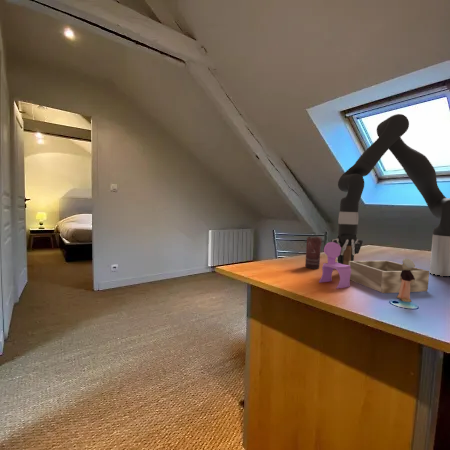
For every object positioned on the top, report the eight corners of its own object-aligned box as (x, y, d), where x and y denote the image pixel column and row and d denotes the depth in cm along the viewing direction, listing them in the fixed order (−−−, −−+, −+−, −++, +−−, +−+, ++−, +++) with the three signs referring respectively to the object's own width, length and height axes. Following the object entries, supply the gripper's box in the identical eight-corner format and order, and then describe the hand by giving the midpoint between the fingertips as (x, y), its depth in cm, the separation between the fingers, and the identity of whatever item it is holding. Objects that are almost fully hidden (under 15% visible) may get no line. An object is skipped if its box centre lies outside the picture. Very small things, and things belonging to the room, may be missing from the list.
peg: (345, 272, 122) (347, 244, 121) (352, 274, 118) (354, 246, 117) (337, 272, 121) (339, 244, 120) (343, 274, 117) (345, 245, 116)
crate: (386, 277, 115) (388, 260, 114) (427, 291, 97) (429, 271, 97) (347, 278, 111) (348, 261, 110) (382, 293, 93) (384, 272, 93)
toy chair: (336, 289, 96) (339, 245, 95) (316, 282, 103) (319, 241, 102) (352, 286, 99) (355, 244, 98) (332, 280, 107) (335, 241, 106)
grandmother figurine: (390, 295, 90) (393, 256, 89) (401, 296, 91) (404, 256, 90) (407, 304, 83) (411, 261, 82) (420, 304, 83) (423, 261, 82)
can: (320, 269, 126) (322, 238, 125) (305, 268, 127) (307, 237, 126) (319, 266, 132) (320, 236, 131) (304, 265, 133) (306, 235, 132)
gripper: (356, 222, 123) (354, 261, 124) (327, 221, 120) (325, 262, 121) (369, 223, 116) (366, 265, 117) (338, 223, 113) (335, 265, 114)
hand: (345, 263), depth 119 cm, fingers closed on peg, 4 cm apart
